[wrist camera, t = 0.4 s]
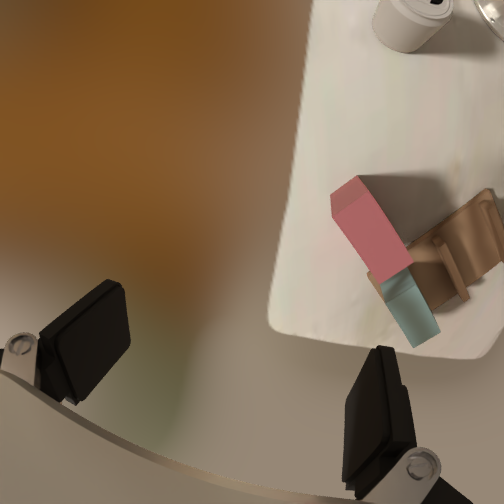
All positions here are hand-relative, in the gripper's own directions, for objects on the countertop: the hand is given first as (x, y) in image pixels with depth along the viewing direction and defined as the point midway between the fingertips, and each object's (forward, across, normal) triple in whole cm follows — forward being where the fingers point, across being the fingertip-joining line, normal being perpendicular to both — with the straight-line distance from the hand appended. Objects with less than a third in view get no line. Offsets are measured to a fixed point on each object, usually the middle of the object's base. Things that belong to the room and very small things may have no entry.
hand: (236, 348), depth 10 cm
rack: (+27, -21, +4) cm, 35 cm away
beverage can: (+27, -9, -23) cm, 37 cm away
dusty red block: (+28, -8, 0) cm, 29 cm away
